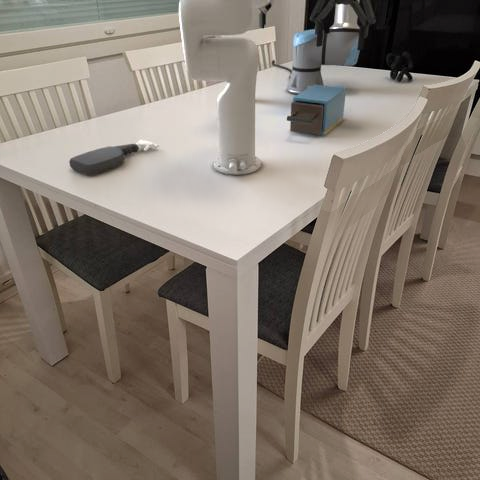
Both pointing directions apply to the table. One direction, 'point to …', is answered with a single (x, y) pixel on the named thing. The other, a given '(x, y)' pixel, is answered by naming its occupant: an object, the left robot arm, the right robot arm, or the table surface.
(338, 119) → the cabinet
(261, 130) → the table surface
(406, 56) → the squiggle
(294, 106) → the drawer
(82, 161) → the spray bottle
